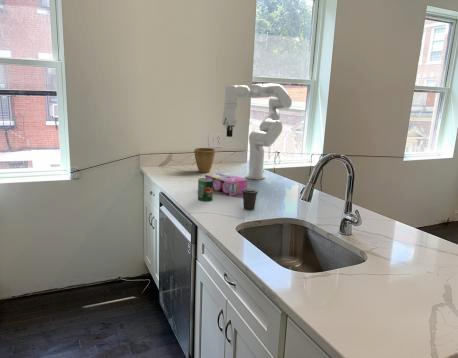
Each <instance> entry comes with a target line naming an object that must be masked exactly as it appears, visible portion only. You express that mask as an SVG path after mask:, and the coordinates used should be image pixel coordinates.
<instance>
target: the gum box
mask: <svg viewBox="0 0 458 358" xmlns="http://www.w3.org/2000/svg"><path fill="white" fill-rule="evenodd" d="M204 178H211V179H213V190H215V191H218V192H221V193H223V194H222V195H224V194H226V195H225V196H228V197H232V196H231V195H237V194H242V193H243V192H242V190H243V189H247V188H249V187H248V185H249V184H248V183H249V182H248V181H249V180H248V178H243V177H241V176H237V175H234V174H230V173H228V172H224V171H223V172H217V173H212V174H211V173H209V174H205V177H204Z"/></svg>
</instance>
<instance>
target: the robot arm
mask: <svg viewBox="0 0 458 358" xmlns="http://www.w3.org/2000/svg"><path fill="white" fill-rule="evenodd" d="M247 98H250V99H251V98H252V99H260V98H269V100H268V110H269V111H268V113H267V115H266V116H265V117H264V119H263V120H262V121H261V123H260V124H259V127H258V128H259V130H253V131H251V132H250V134H249V136H248V141H249V158H248V159H249V161H248V162H249V163H248V164H249V165H248V174H246V176H245V177H246V179H250V180H265V178H266V176H265V175H264V173H265V170H264V159H265V149H264V148H265V147H266V148H269V147H271V146H272V145H274V143H275V142H276V141H277V139H278V137H280V135H281V133H282V132H283V123H282V122H281V121H280V117H281V115H280V110H279V109H281V110H288V109H290V108H291V107H292V104H293V103H292V102H293V101H292V98H291V96H290V95H289V94H288V92H287V91H286V89H285V88H284V87H283V86H282V85H281V84H279V83H263V84H262V83H256V84H241V85H240V84H236V85H230V84H228V85H226V86H225V87H224V107H223V108H224V109H223V111H222V112H223V114H222V125H223V126H224V128H225V129H226V137H229V138H233V132H234V131H233V130H234V127H235V126H236V125H237V119H238V115H237V113H238V112H237V107H238V99H247Z"/></svg>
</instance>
